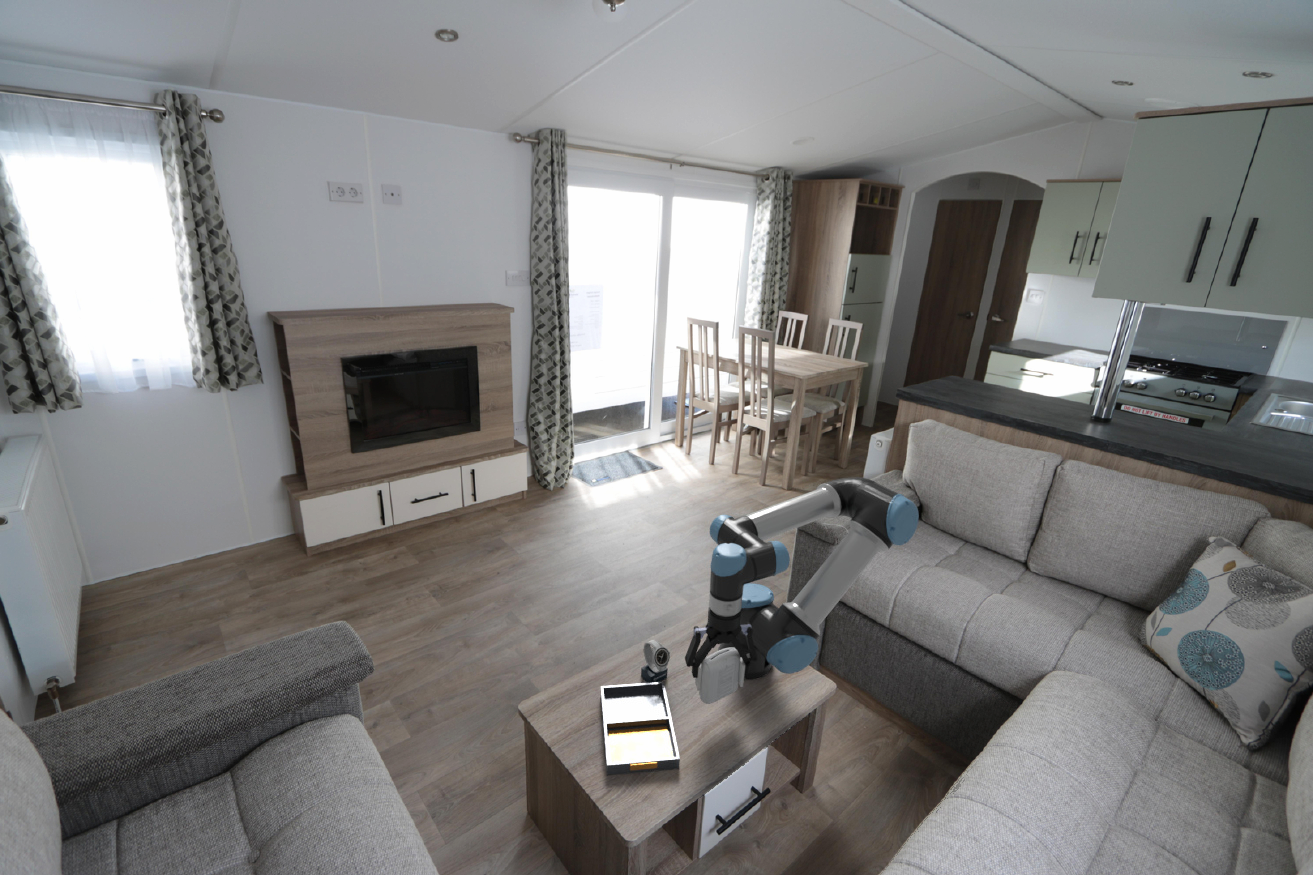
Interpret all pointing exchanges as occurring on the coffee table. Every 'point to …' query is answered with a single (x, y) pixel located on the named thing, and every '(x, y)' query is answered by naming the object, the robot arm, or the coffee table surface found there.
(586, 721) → the coffee table surface
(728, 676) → the photo printer
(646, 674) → the watch
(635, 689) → the tray
